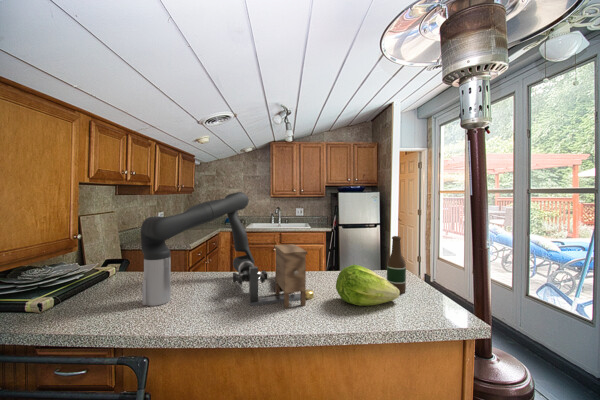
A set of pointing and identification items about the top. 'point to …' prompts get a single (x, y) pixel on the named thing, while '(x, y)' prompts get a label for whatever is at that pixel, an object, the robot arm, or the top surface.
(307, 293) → the brass puck
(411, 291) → the top surface
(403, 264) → the beer bottle
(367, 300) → the lettuce
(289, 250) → the walnut cabinet
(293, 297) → the grey l-shaped bracket
